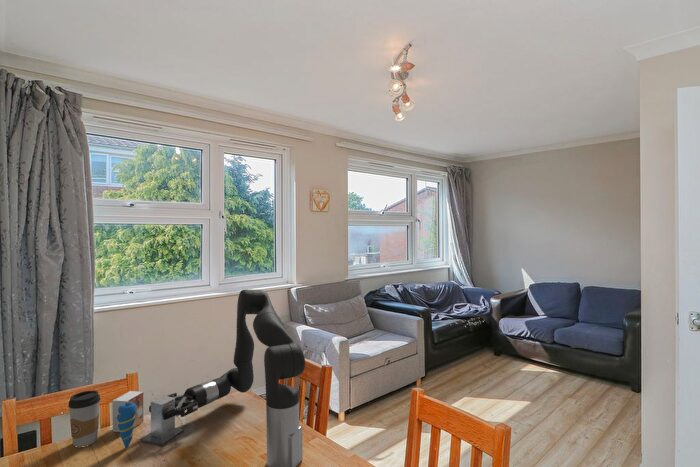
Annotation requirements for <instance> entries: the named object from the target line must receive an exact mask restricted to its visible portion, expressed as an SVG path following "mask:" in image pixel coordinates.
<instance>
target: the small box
mask: <svg viewBox="0 0 700 467" xmlns="http://www.w3.org/2000/svg"><path fill="white" fill-rule="evenodd" d="M126 401H129V402H132V403H134V404H135V405H136V413H135V417H136V418H135V421H134V428H136V427H137V426H139V425H141V424H143V422H144V420H145V419H144V417H145V416H144V392H143V391H135V390H134V391H133V390H129V391H127V392H126V393H124V394H122V395H120V396H118V397H117V398H114V399H113V400H112V401H111V403H112V404H111V405H112V407H111V408H112V413H111V414H112V432H113V433H115V432H116V433H120V429H119V427H118V424H119V422H118V420H117V416H118V414H119V412H118V408H119V406H120V405H122V404H124V403H126Z"/></svg>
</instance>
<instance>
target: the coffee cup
mask: <svg viewBox="0 0 700 467" xmlns="http://www.w3.org/2000/svg"><path fill="white" fill-rule="evenodd" d="M100 401H101V395H100V394H99V391H98V390H86V391H80V392H77V393H75V394H73V395H71V396H70V399H69V401H68V405H67V406H68V410H69V418H70V419H69V422H70V432H71V439H72V445H73V447H74V446H77V447H82V446H87V445H90V444H92V443H93V444H95V443H96V442H97V440H98V437H99V436H98V434H99V424H100V423H99V422H100V421H99V420H100ZM95 441H96V442H95ZM94 442H95V443H94ZM93 444H92V445H93ZM90 446H91V445H90ZM87 447H88V446H87Z"/></svg>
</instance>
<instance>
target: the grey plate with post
mask: <svg viewBox="0 0 700 467" xmlns="http://www.w3.org/2000/svg"><path fill="white" fill-rule="evenodd" d="M184 432H185V430H184V429H182V428H178V427H175V432H173V433H171V434H170V435H168V436H166V437H165V438H163V439H159V438H157V437H154V436H151V432H149V433H148V434H146V435H144V436H142V438H140V439H139V443H144V444H149V445H154V446H159V447H163V446H165V445H167V444H168V443H170V442H171V441H173V440H174V439H176V438H177V437H179V436H180V435H182V434H183V433H184Z"/></svg>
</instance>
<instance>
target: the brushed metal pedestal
mask: <svg viewBox="0 0 700 467" xmlns="http://www.w3.org/2000/svg"><path fill="white" fill-rule="evenodd" d="M150 405H151V412H150V433H151V436H154V437H157V438H159V439H163V438H165V437H166V436H168V435H170V434H171V433H173V432H175V428H176V416H174V417H171V418H169V419H166V420H164V419H163V413H164V412H166V411H169V410H171V409H174V408H175V398H172V397H169V396H168V395H165V394H163V395H161V396H160V397H157V398H155V399H153V400H151V401H150Z"/></svg>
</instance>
